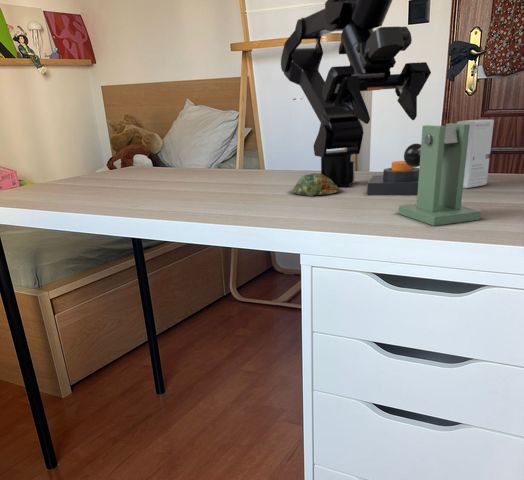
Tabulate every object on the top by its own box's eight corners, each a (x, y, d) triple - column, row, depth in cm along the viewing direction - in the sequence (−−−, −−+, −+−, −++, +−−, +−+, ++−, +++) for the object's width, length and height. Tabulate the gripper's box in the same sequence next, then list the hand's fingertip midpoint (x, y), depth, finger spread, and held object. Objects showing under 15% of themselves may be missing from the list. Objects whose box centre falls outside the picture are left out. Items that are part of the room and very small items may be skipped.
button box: (367, 194, 103) (368, 173, 101) (372, 186, 111) (373, 166, 109) (431, 194, 99) (433, 172, 98) (432, 185, 108) (433, 165, 106)
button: (390, 173, 102) (391, 163, 102) (391, 170, 106) (392, 161, 105) (411, 172, 101) (412, 163, 101) (412, 169, 105) (413, 160, 104)
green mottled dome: (343, 167, 109) (331, 174, 101) (344, 187, 111) (333, 196, 102) (296, 171, 113) (282, 178, 104) (298, 191, 114) (284, 200, 106)
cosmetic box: (468, 188, 103) (475, 121, 97) (449, 186, 106) (455, 121, 101) (488, 184, 106) (496, 119, 100) (469, 182, 109) (476, 118, 104)
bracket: (398, 213, 86) (403, 125, 80) (440, 208, 88) (448, 122, 82) (433, 225, 77) (442, 128, 72) (479, 219, 79) (492, 124, 74)
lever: (401, 170, 87) (398, 148, 87) (420, 168, 88) (417, 146, 87) (441, 148, 76) (437, 122, 76) (462, 146, 77) (459, 121, 77)
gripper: (329, 10, 85) (358, 84, 80) (429, 8, 90) (463, 78, 85) (311, 68, 95) (336, 137, 91) (402, 64, 100) (430, 129, 95)
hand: (391, 120), depth 90 cm, fingers open, 9 cm apart
